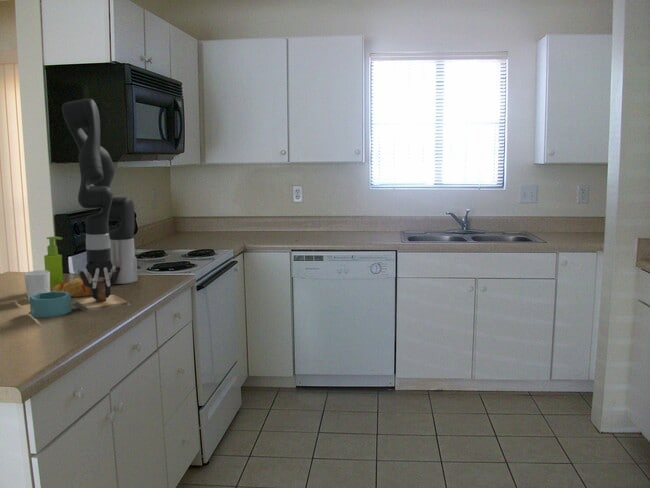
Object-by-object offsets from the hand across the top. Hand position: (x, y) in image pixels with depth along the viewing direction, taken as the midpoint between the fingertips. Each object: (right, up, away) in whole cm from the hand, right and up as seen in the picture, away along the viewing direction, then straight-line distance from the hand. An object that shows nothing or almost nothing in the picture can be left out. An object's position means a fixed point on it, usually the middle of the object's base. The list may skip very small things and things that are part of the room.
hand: (101, 297), depth 204 cm
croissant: (-14, -1, +15) cm, 20 cm away
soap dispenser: (-24, +1, +22) cm, 33 cm away
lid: (0, -2, 0) cm, 2 cm away
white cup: (-23, -2, +6) cm, 24 cm away
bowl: (-12, -4, -10) cm, 16 cm away
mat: (0, -3, 0) cm, 3 cm away
